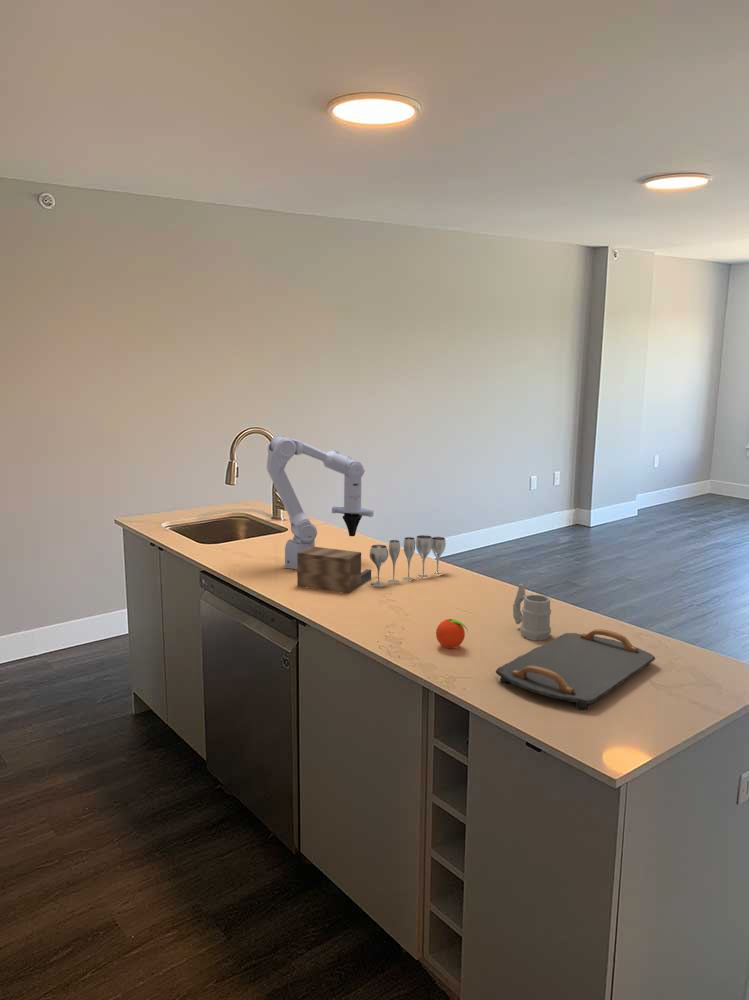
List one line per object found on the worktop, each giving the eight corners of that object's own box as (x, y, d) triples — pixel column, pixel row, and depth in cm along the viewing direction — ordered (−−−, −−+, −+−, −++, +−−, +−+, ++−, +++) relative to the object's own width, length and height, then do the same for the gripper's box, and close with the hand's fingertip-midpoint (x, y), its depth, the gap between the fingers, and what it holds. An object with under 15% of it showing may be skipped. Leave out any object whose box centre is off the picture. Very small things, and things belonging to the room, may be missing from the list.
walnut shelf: (297, 586, 233) (297, 552, 231) (322, 572, 248) (322, 540, 246) (348, 593, 226) (348, 559, 224) (371, 579, 241) (371, 546, 240)
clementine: (472, 645, 187) (473, 617, 185) (463, 655, 181) (464, 626, 179) (441, 640, 190) (441, 612, 189) (431, 649, 184) (432, 621, 182)
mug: (535, 643, 189) (537, 596, 187) (502, 629, 199) (504, 584, 196) (557, 637, 193) (560, 591, 191) (523, 623, 203) (526, 580, 201)
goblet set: (437, 571, 252) (438, 531, 249) (448, 575, 247) (449, 535, 245) (365, 583, 237) (366, 541, 234) (375, 588, 232) (376, 545, 230)
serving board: (583, 720, 150) (585, 690, 149) (484, 686, 165) (485, 658, 164) (662, 664, 178) (664, 639, 177) (571, 639, 193) (572, 615, 192)
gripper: (377, 495, 257) (376, 535, 259) (338, 492, 262) (337, 531, 265) (368, 499, 250) (368, 539, 253) (329, 495, 256) (328, 535, 258)
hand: (352, 535), depth 258 cm, fingers closed
